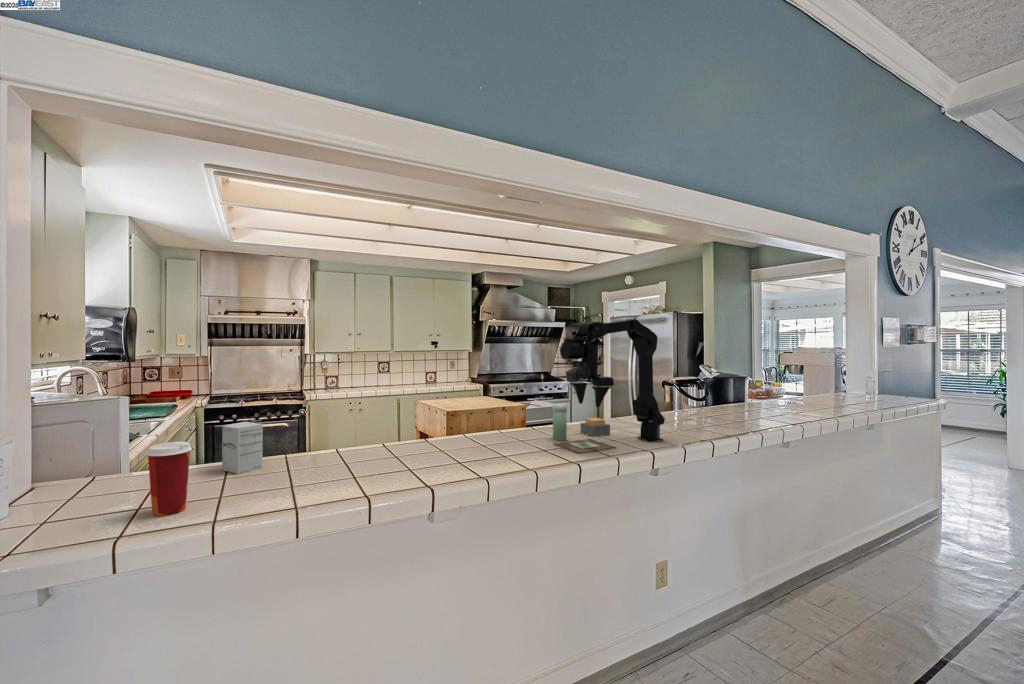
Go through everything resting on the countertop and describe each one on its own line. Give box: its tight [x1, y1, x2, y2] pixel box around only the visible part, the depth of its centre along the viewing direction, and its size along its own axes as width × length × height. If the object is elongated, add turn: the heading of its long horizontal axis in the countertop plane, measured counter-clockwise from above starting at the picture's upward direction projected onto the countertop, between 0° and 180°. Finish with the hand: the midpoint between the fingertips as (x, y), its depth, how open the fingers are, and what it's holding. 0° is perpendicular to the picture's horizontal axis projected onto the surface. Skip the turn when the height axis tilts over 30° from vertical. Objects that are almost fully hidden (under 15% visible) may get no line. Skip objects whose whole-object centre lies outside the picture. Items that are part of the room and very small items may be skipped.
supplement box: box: [221, 421, 264, 475], centre depth 125 cm, size 7×7×13 cm
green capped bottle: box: [552, 403, 568, 442], centre depth 164 cm, size 5×5×13 cm
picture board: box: [553, 438, 617, 454], centre depth 154 cm, size 16×14×1 cm
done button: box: [585, 417, 606, 426], centre depth 174 cm, size 5×5×2 cm
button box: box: [580, 421, 611, 437], centre depth 174 cm, size 8×8×4 cm
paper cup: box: [145, 441, 193, 517], centre depth 95 cm, size 8×8×14 cm
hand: (589, 405), depth 151 cm, fingers open, 9 cm apart
